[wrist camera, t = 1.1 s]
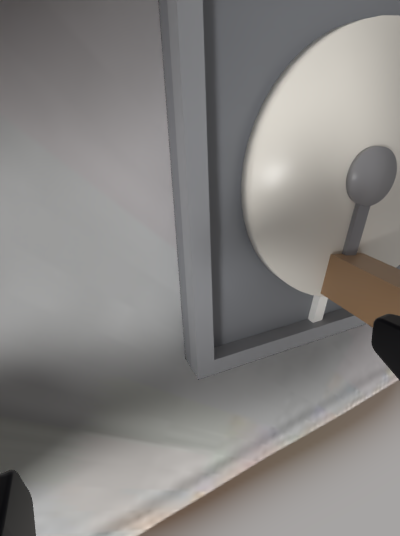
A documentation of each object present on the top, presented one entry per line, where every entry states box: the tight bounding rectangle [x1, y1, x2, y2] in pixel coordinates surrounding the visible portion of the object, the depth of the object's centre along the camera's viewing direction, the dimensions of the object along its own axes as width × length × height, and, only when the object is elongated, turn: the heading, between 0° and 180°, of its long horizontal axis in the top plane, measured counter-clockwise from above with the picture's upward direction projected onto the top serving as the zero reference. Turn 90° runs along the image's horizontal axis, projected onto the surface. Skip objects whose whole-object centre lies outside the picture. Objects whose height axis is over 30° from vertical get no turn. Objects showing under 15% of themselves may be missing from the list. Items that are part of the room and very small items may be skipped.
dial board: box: [159, 0, 400, 380], centre depth 20 cm, size 20×20×2 cm
